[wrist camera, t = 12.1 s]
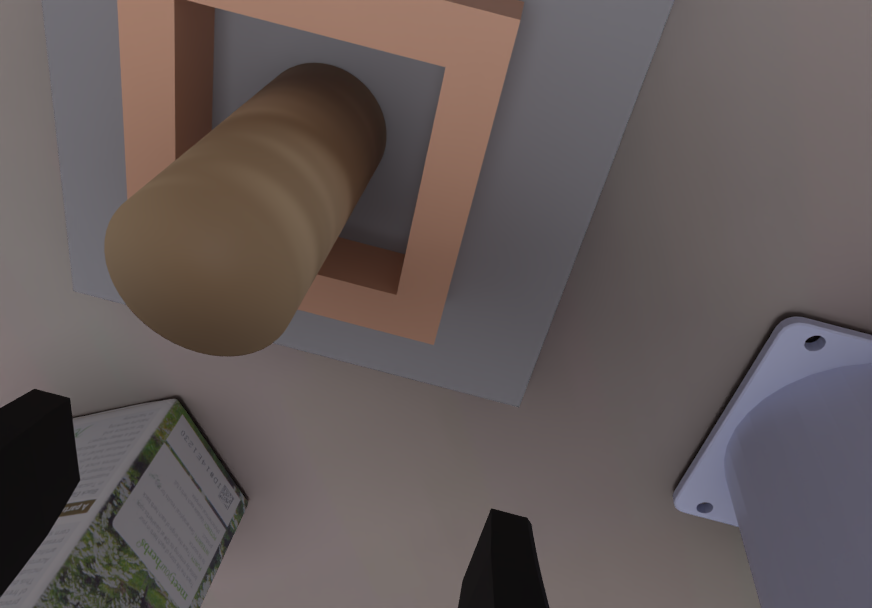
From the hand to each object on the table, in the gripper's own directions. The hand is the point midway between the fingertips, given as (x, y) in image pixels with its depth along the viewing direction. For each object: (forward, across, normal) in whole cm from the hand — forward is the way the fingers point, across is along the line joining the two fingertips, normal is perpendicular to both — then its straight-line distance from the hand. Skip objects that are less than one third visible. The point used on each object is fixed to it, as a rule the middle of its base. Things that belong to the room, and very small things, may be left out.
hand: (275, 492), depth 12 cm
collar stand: (+9, +2, -3) cm, 10 cm away
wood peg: (+8, +2, -3) cm, 9 cm away
